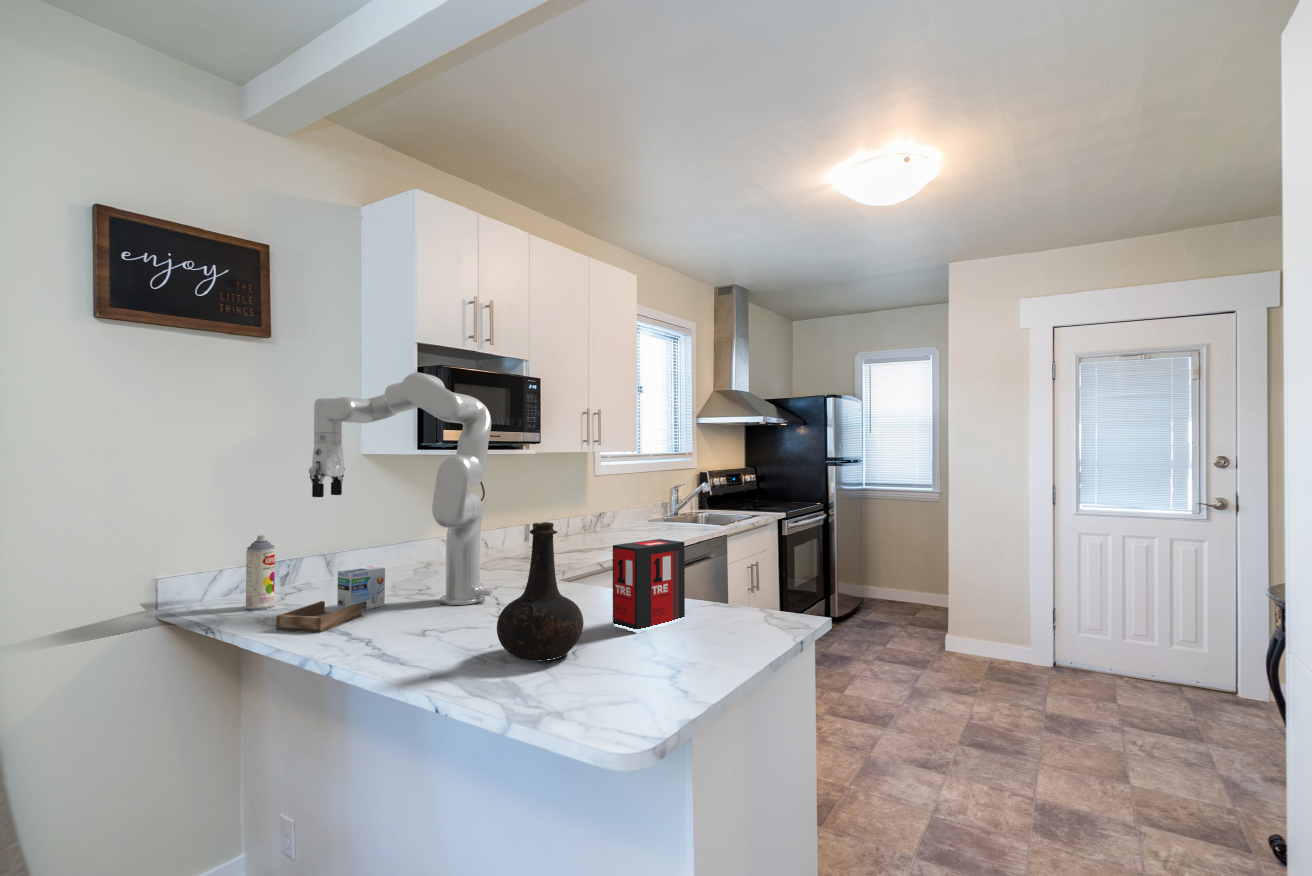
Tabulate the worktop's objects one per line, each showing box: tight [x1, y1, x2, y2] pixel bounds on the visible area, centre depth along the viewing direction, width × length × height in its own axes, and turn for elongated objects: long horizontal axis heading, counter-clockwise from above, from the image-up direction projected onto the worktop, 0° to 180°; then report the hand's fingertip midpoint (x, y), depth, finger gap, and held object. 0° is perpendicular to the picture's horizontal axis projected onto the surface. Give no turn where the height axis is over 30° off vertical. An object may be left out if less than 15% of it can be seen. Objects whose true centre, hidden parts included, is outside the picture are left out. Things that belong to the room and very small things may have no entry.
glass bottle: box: [496, 521, 584, 661], centre depth 137 cm, size 18×18×28 cm
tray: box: [275, 600, 363, 633], centre depth 163 cm, size 12×16×4 cm
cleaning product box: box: [612, 538, 686, 629], centre depth 162 cm, size 16×9×20 cm, turn 134°
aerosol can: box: [245, 534, 276, 611], centre depth 180 cm, size 7×7×20 cm
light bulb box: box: [336, 565, 386, 611], centre depth 180 cm, size 11×7×11 cm, turn 148°
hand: (327, 495), depth 195 cm, fingers open, 9 cm apart
